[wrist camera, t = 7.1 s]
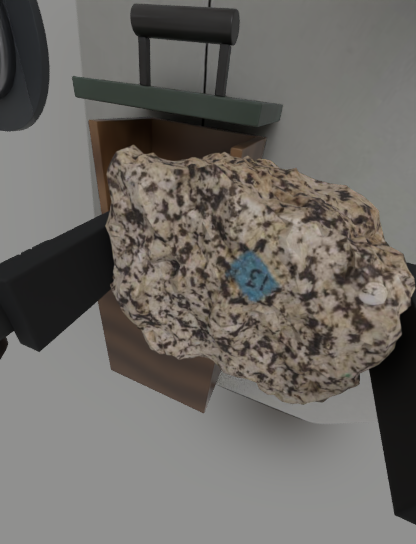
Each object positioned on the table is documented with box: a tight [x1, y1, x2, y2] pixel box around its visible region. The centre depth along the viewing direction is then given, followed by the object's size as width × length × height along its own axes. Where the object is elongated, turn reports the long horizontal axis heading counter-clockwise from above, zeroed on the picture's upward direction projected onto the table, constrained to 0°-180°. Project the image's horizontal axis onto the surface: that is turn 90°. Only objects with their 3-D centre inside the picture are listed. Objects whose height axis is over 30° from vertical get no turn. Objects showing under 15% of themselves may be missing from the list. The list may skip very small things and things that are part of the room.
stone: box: [105, 145, 415, 405], centre depth 9 cm, size 9×5×10 cm
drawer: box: [72, 4, 283, 214], centre depth 23 cm, size 22×13×9 cm, turn 175°
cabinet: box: [98, 289, 221, 413], centre depth 33 cm, size 19×15×11 cm
